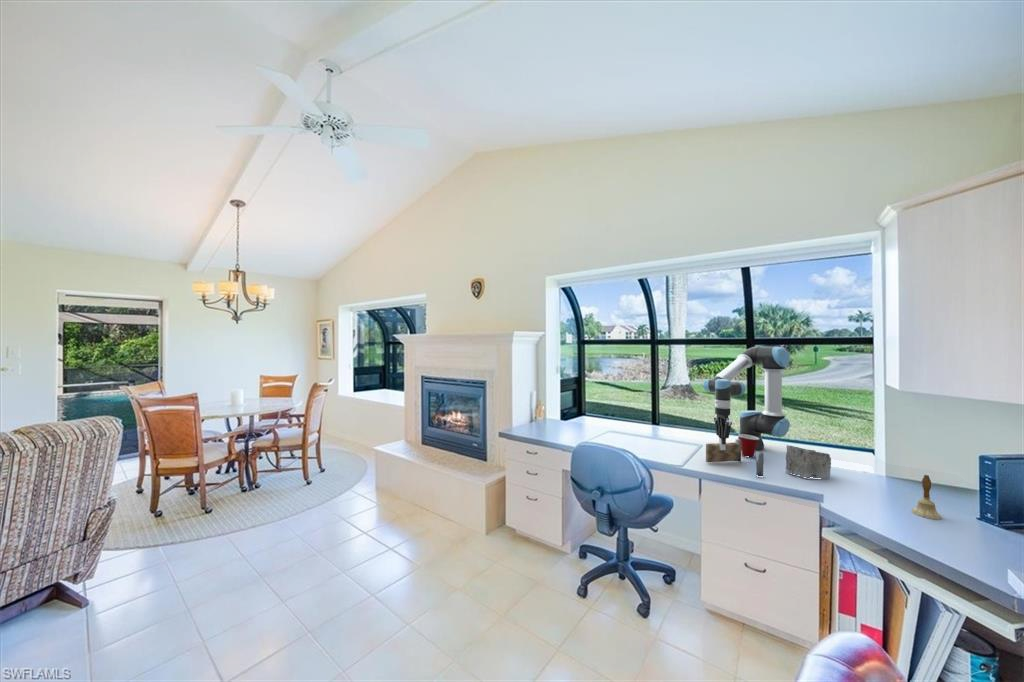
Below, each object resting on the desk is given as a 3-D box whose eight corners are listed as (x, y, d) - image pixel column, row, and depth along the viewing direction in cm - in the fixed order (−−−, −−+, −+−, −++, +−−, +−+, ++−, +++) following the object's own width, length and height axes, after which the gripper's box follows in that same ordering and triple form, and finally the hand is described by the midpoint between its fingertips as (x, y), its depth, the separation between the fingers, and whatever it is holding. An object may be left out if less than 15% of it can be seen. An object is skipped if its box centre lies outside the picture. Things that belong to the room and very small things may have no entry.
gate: (737, 460, 218) (737, 442, 217) (738, 460, 216) (739, 442, 216) (705, 461, 215) (705, 443, 214) (707, 462, 213) (707, 444, 213)
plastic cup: (763, 459, 222) (763, 438, 222) (744, 458, 222) (744, 438, 222) (752, 453, 233) (752, 433, 233) (734, 453, 233) (734, 433, 233)
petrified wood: (828, 473, 200) (829, 444, 200) (833, 484, 185) (834, 453, 185) (784, 466, 210) (785, 439, 210) (785, 476, 196) (786, 447, 195)
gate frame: (707, 458, 222) (708, 438, 222) (739, 460, 220) (740, 439, 220) (728, 476, 195) (728, 452, 195) (764, 477, 193) (764, 454, 193)
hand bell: (933, 520, 149) (934, 480, 149) (906, 511, 157) (907, 472, 157) (946, 518, 152) (948, 478, 151) (919, 508, 160) (920, 470, 159)
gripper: (709, 405, 220) (709, 446, 220) (723, 409, 207) (723, 453, 207) (721, 405, 220) (721, 446, 220) (736, 409, 207) (736, 453, 208)
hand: (722, 449), depth 214 cm, fingers closed
